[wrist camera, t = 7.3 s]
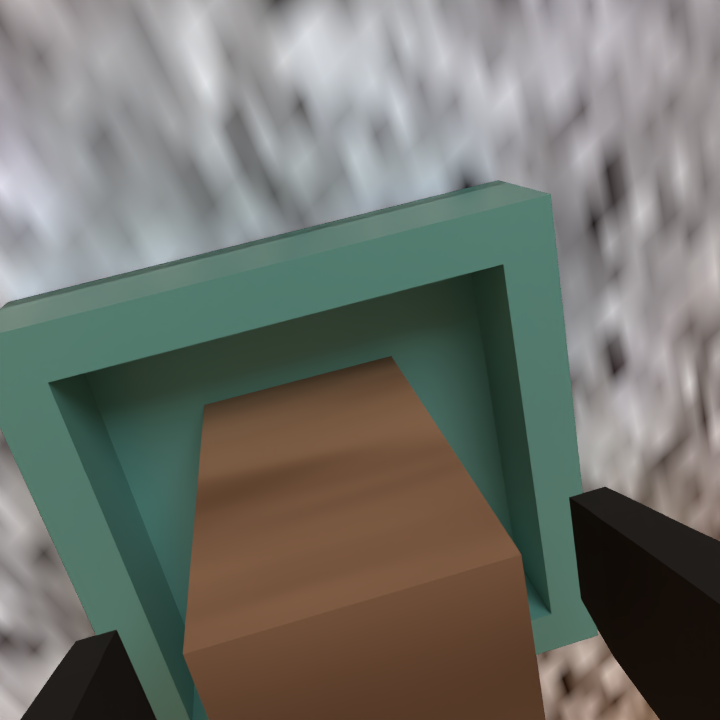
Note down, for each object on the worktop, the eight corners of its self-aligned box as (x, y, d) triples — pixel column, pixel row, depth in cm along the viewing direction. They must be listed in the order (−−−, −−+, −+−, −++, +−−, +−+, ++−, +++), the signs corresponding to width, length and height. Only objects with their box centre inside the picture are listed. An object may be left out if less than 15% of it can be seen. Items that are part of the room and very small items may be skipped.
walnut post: (423, 512, 16) (555, 787, 9) (255, 560, 16) (272, 880, 9) (390, 355, 14) (521, 554, 8) (204, 404, 14) (183, 654, 8)
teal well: (550, 567, 18) (598, 635, 16) (169, 682, 17) (159, 772, 15) (498, 180, 14) (550, 194, 12) (7, 302, 13) (-39, 343, 11)
